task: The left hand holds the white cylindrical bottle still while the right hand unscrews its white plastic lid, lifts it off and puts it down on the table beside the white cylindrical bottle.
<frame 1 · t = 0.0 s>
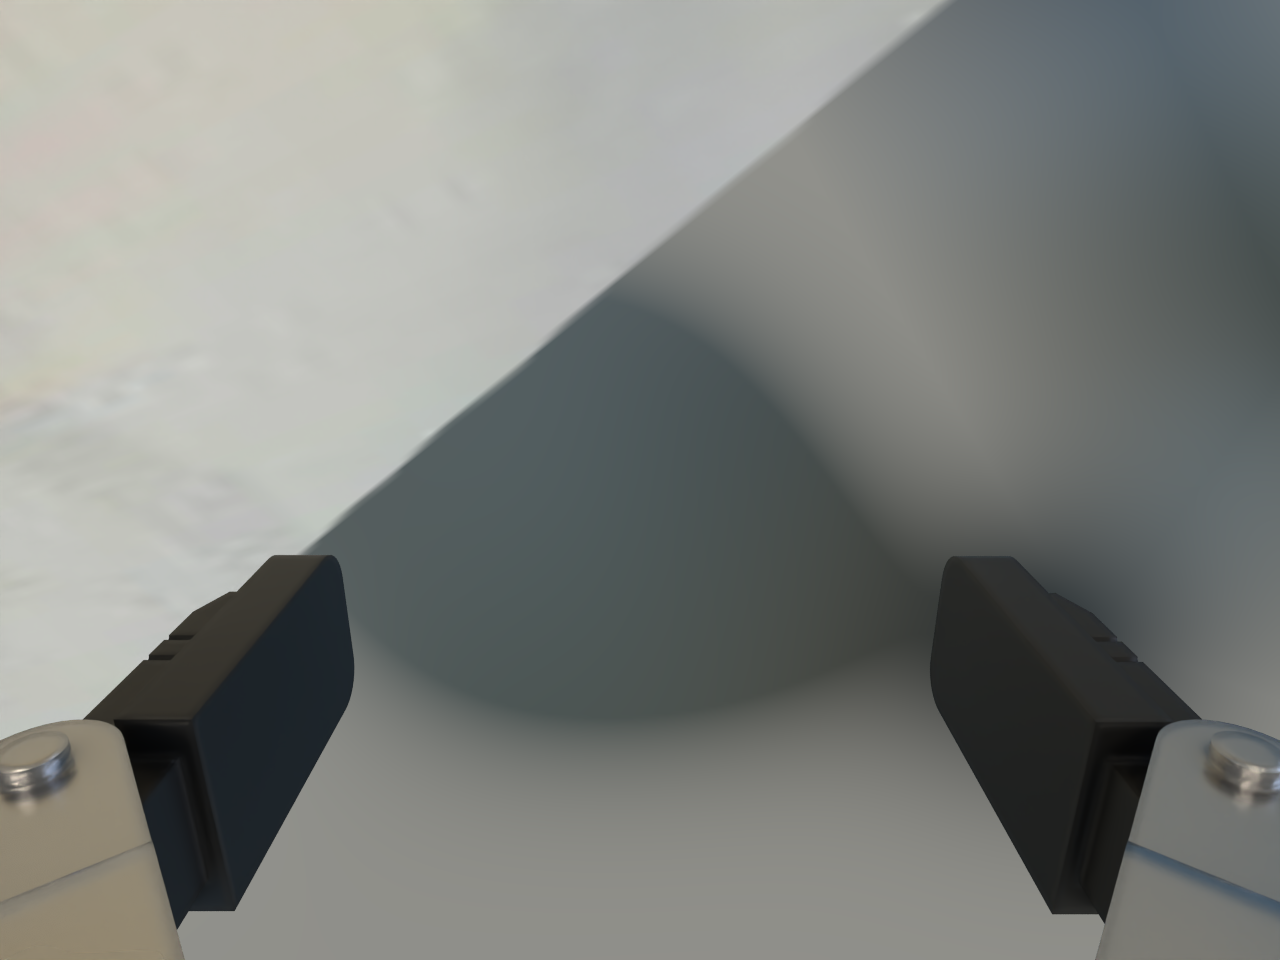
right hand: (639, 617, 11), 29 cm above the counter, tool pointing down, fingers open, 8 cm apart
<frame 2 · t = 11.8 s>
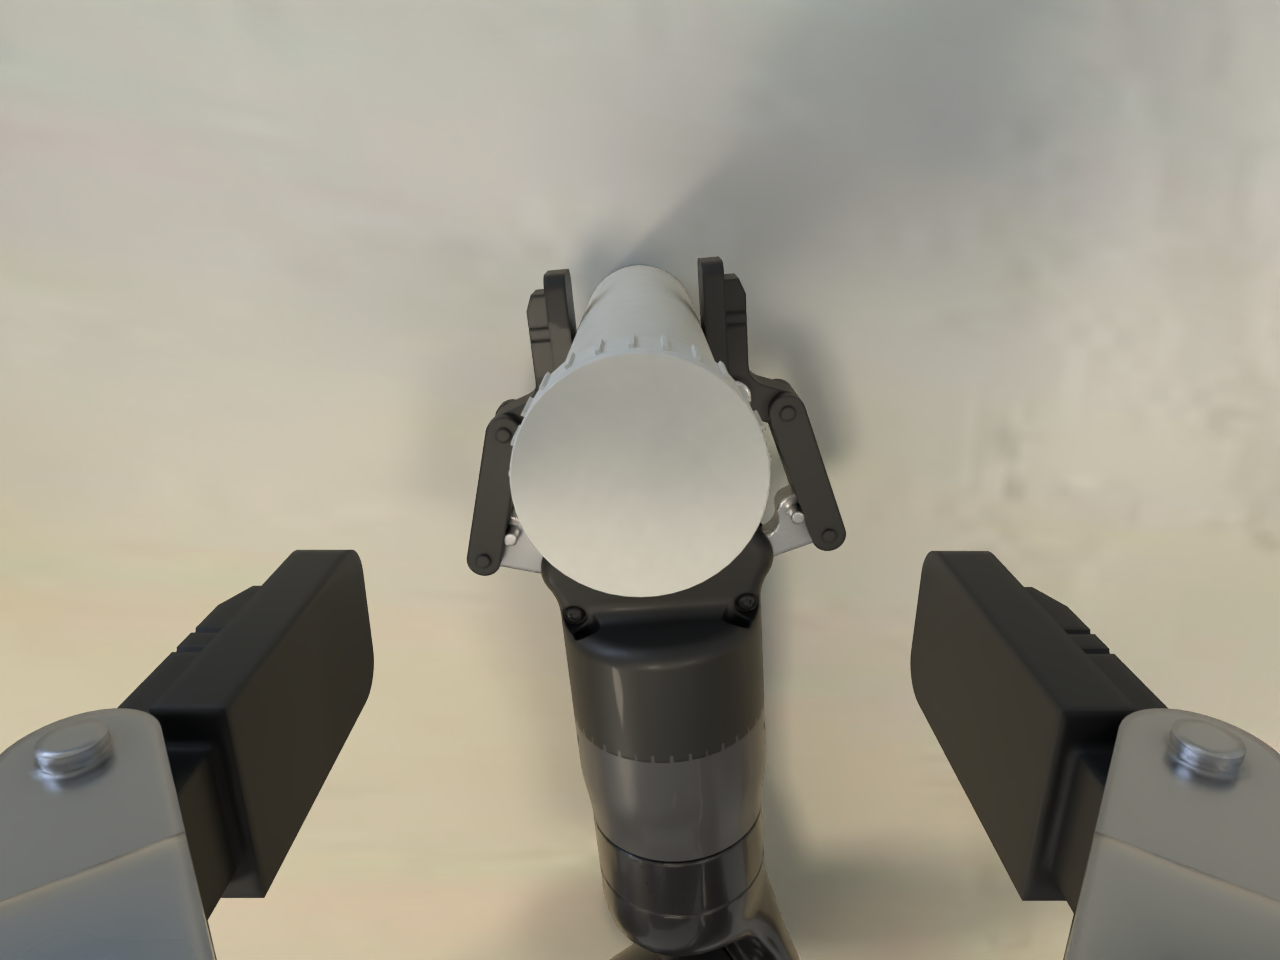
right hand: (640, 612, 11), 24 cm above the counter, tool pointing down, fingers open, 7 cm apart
left hand: (632, 268, 27), fingers closed on white cylindrical bottle, 4 cm apart
white cylindrical bottle: (639, 319, 34), on the counter, touching left hand
lid: (640, 475, 16), point 19 cm above the counter, screwed on, not yet turned
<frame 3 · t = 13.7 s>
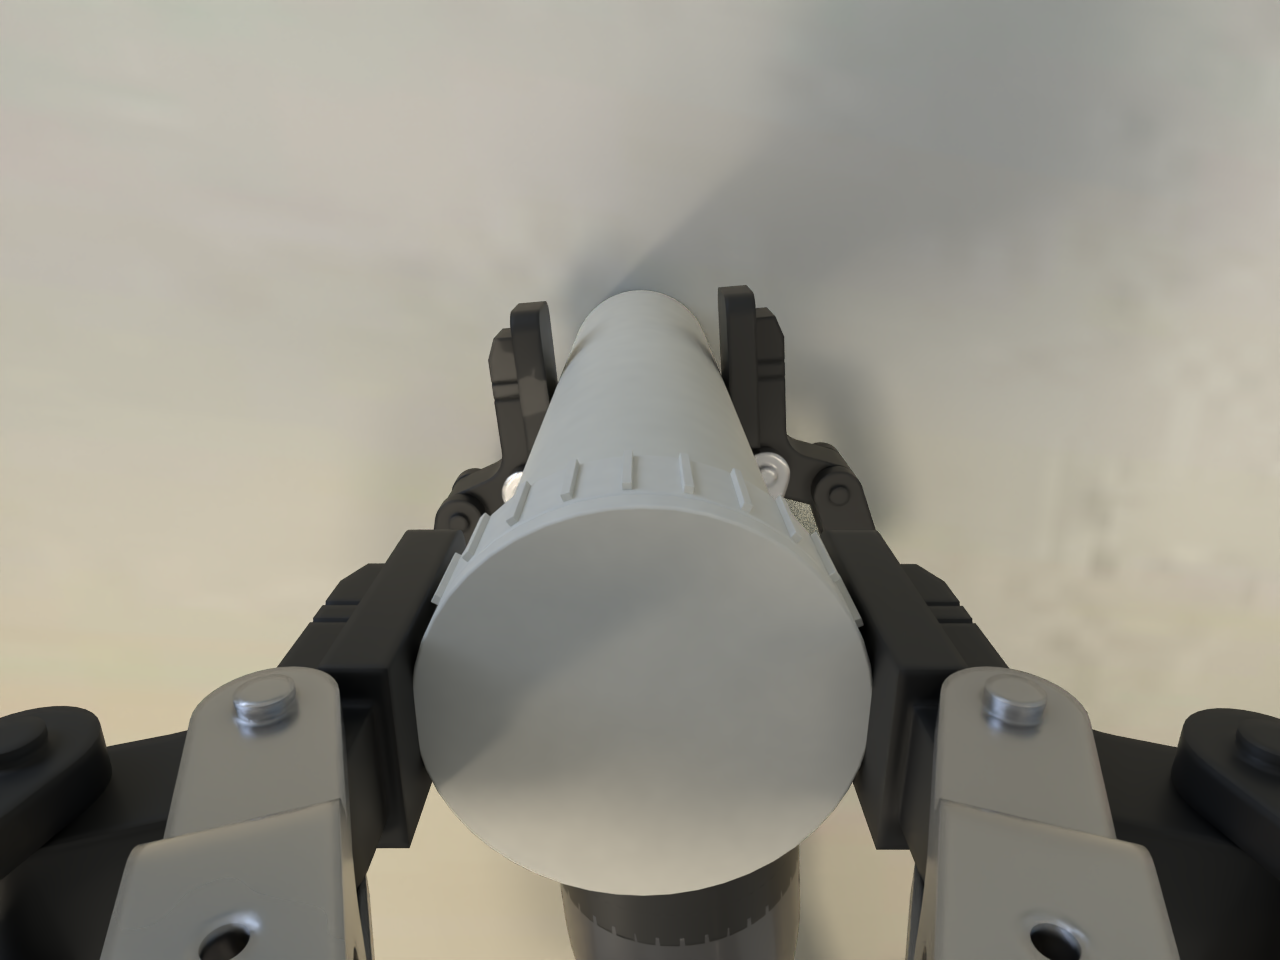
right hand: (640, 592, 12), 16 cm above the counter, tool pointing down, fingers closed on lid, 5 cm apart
white cylindrical bottle: (640, 358, 27), on the counter, touching left hand
lid: (642, 701, 9), point 19 cm above the counter, screwed on, not yet turned, touching right hand
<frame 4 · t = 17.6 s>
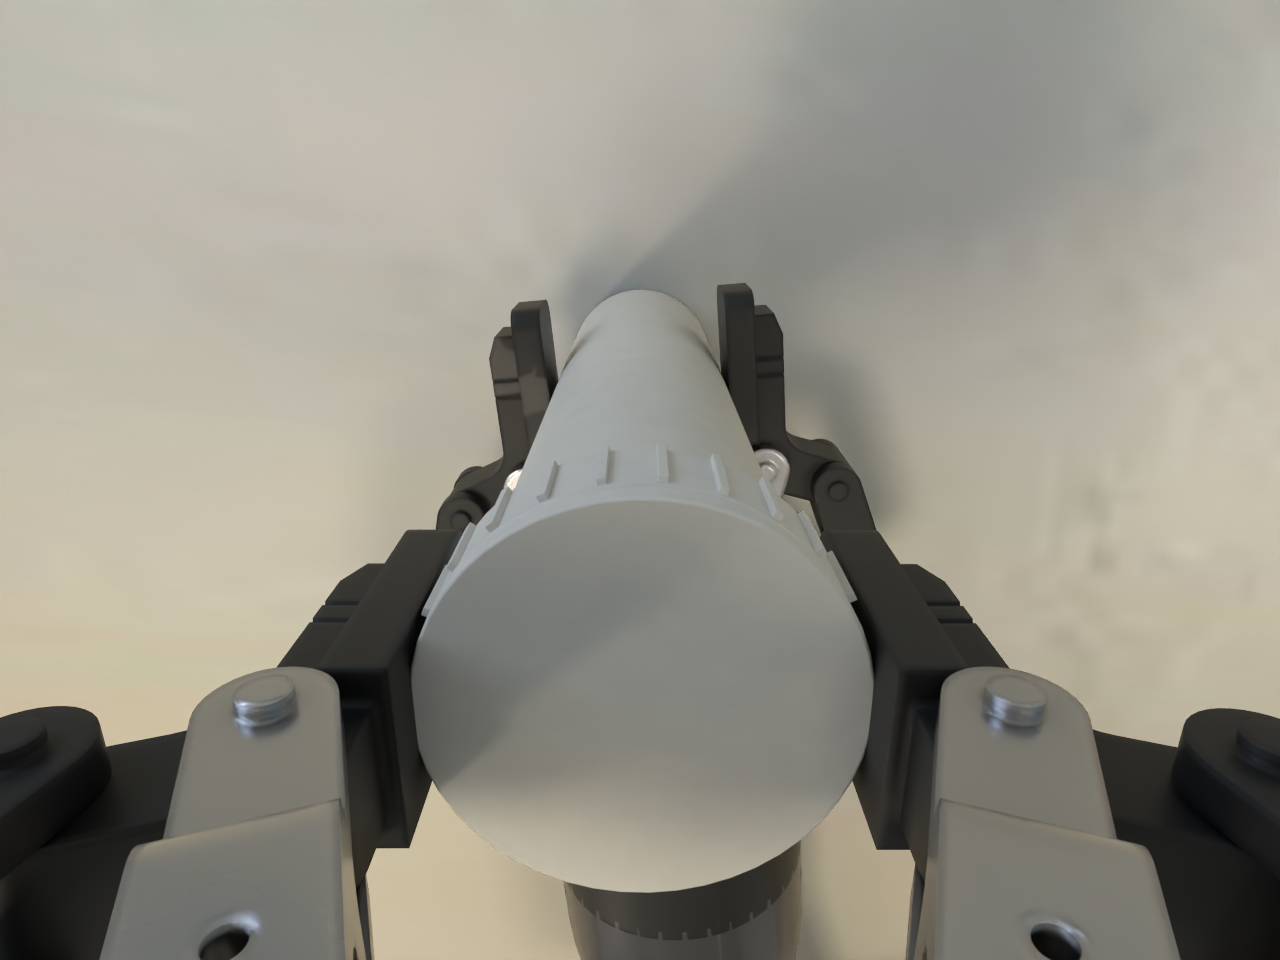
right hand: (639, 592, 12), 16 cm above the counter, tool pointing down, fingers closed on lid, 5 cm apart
white cylindrical bottle: (641, 357, 27), on the counter, touching left hand
lid: (642, 695, 9), point 19 cm above the counter, turned 106° so far, risen 0.2 cm, still on its thread, touching right hand
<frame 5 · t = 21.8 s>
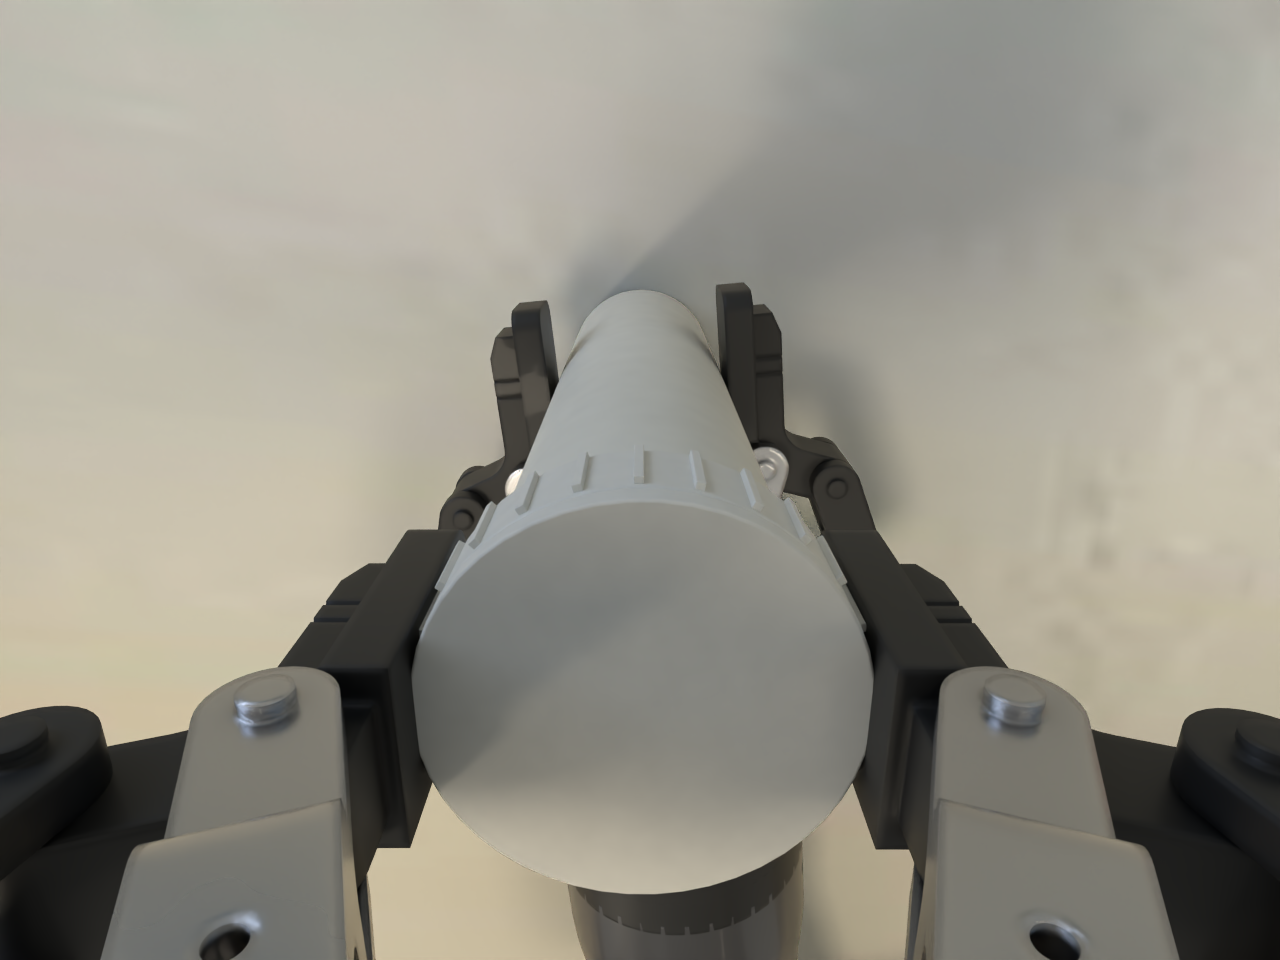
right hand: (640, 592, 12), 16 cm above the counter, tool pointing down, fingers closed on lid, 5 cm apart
white cylindrical bottle: (641, 356, 27), on the counter, touching left hand
lid: (642, 697, 9), point 19 cm above the counter, turned 213° so far, risen 0.4 cm, still on its thread, touching right hand
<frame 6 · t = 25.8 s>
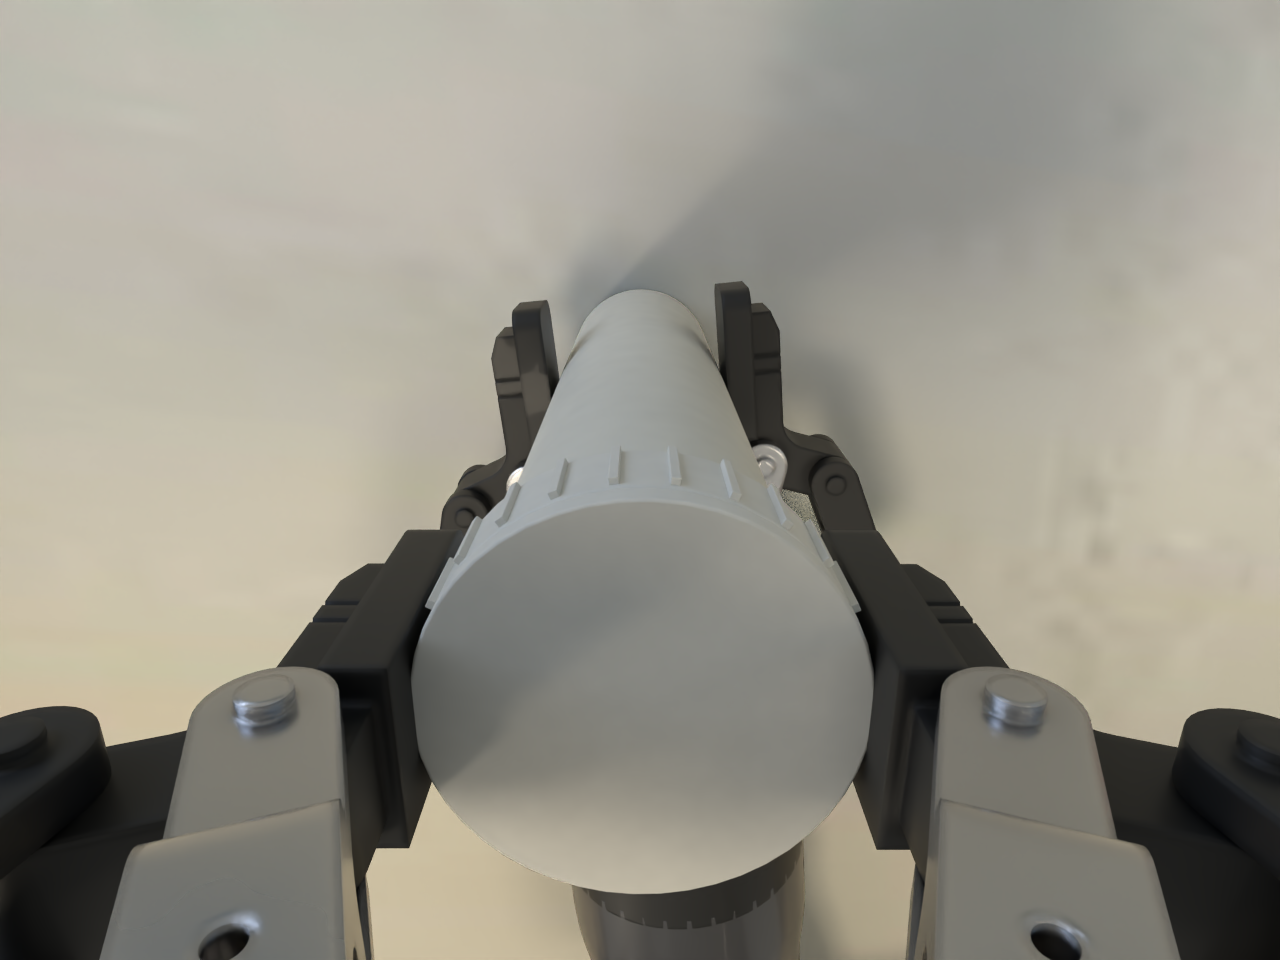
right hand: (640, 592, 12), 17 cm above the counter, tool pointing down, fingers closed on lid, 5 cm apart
white cylindrical bottle: (641, 356, 27), on the counter, touching left hand
lid: (642, 697, 9), point 19 cm above the counter, turned 319° so far, risen 0.6 cm, still on its thread, touching right hand
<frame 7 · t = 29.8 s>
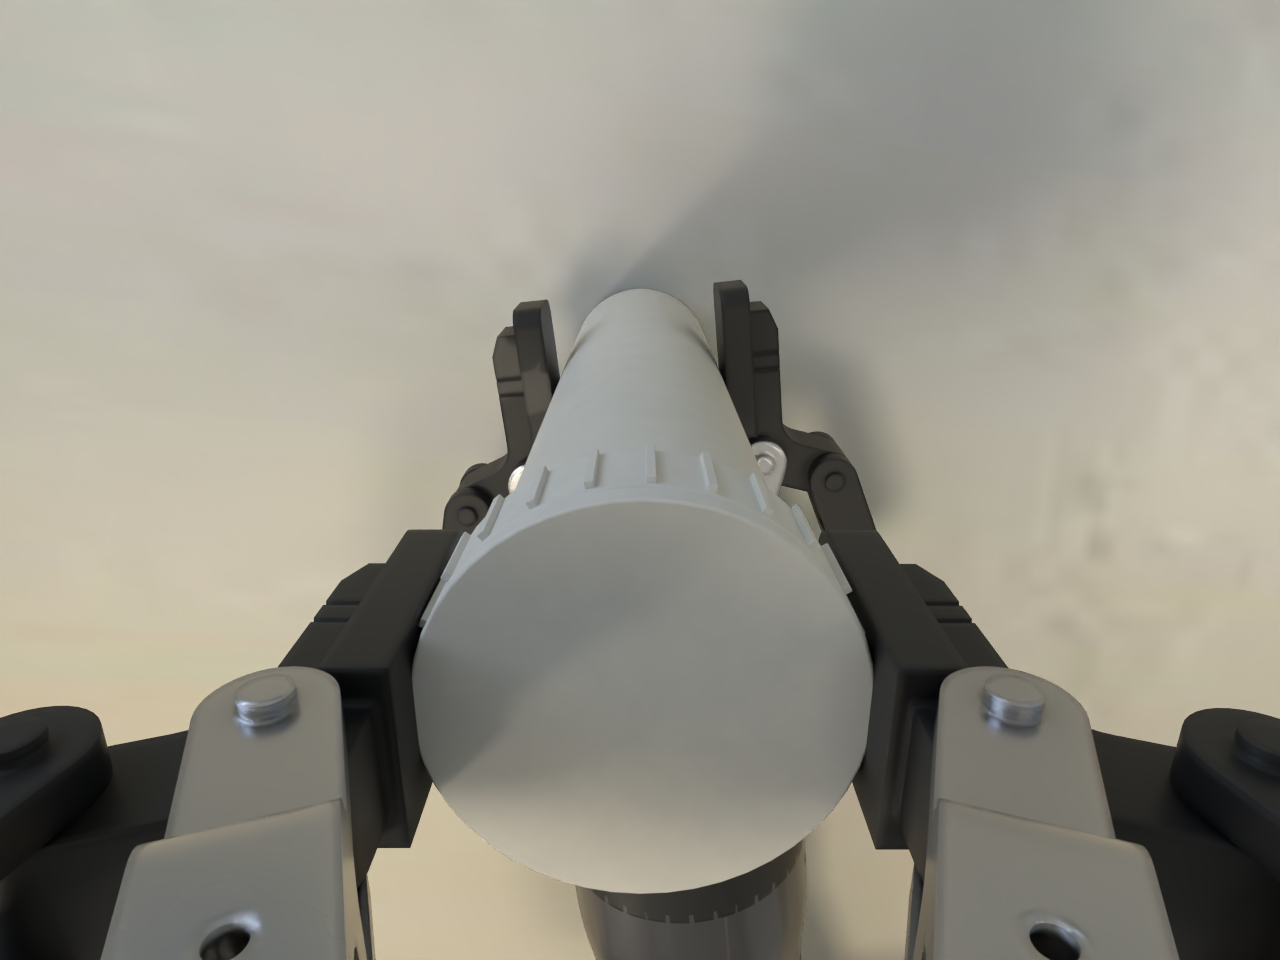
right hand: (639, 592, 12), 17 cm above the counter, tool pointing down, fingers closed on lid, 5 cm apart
white cylindrical bottle: (641, 355, 27), on the counter, touching left hand
lid: (642, 696, 9), point 19 cm above the counter, turned 425° so far, risen 0.7 cm, still on its thread, touching right hand
when the right hand's fingers open (0 cm above the counter, at t = 38.1 s): lid drops 2 cm, point 1 cm above the counter.
when the left hand's fingers open (6 cm above the counter, at t = 39.1 s): white cylindrical bottle stays where it is, on the counter.
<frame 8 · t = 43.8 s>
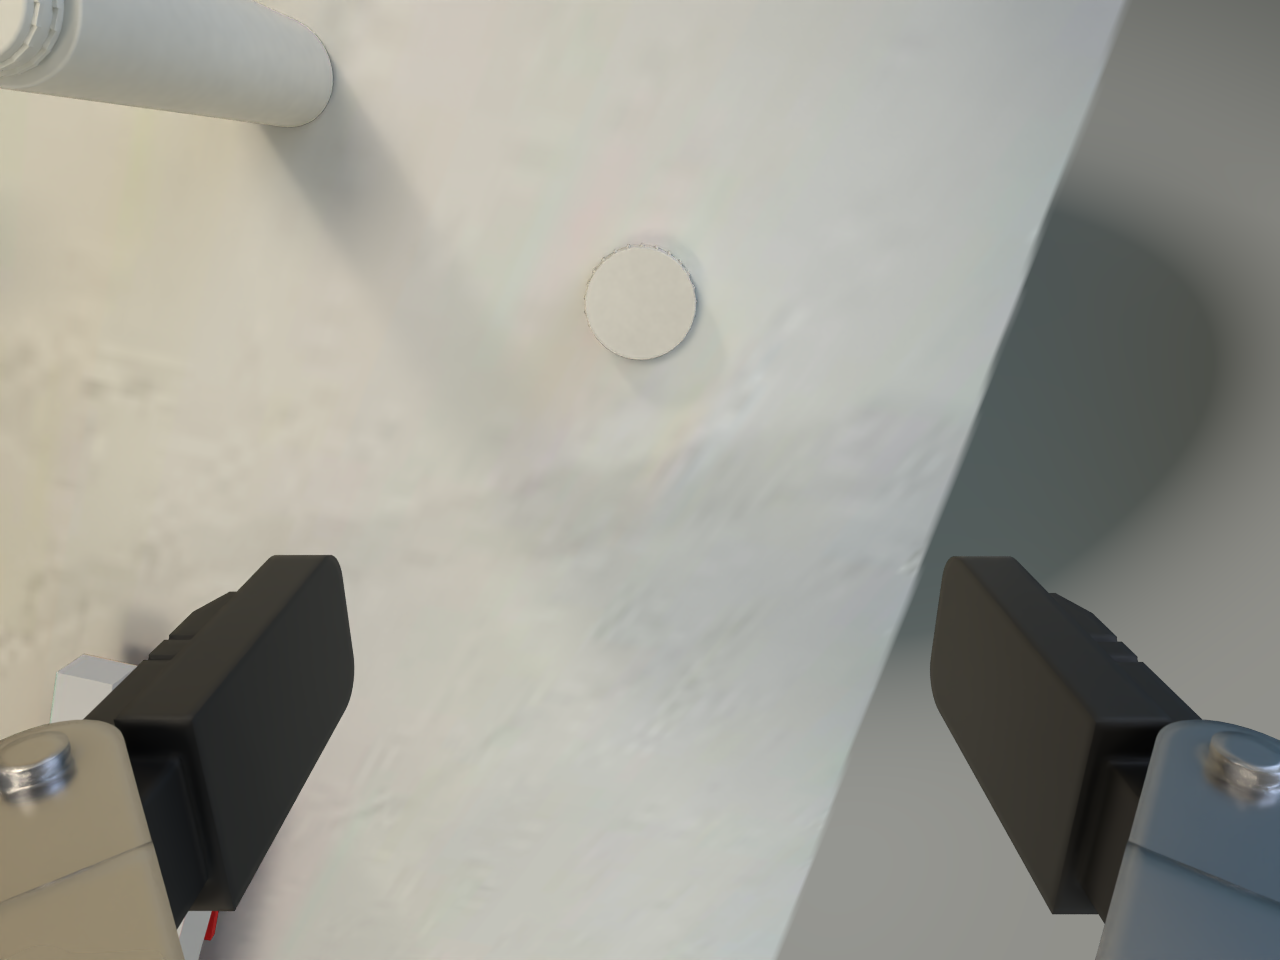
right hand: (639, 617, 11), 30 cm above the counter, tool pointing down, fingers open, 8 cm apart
white cylindrical bottle: (282, 72, 36), on the counter
lid: (640, 304, 38), point 1 cm above the counter, off its thread
toy: (157, 842, 50), on the counter
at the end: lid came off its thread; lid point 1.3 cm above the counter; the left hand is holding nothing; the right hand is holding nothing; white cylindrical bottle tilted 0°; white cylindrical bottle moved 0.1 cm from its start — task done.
